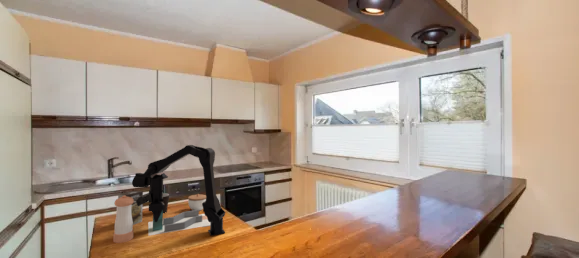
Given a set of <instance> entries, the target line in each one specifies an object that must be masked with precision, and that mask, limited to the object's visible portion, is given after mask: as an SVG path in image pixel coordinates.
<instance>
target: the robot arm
mask: <svg viewBox="0 0 579 258" xmlns="http://www.w3.org/2000/svg"><path fill="white" fill-rule="evenodd" d="M189 155H191V156H193V157H195V158H198V161H199V163H200V165H201V167H202V170H203V178H204V179H203V181H204V191H205V195H206V201H205V202H203V203H202V206H203V209H202V213H203V214H205V216H207V218H208V221H209V222H210V226H209V228H210V229H208V230H207V231H208V233H209V235H210V236H216V235H217V236H218V235H222V234H225V233H226V231H225V230H224V218H223V217H225V216H226V210H224V209H223V208H222V207H221V203H220V199H219V198H218V196H217V191H216V190H217V189H216V183H215V181H216V180H215V172H214V165H215V160H216V153H215V150H214V149H213V148H212V147H207V148H205V147H200V146H196V145H193V144H187V145H185V146H184V147H182V148H181V149H179V150H177V151H175V152H174V153H172V154H170V155H168V156H167V157H164V158H161V159H158V160H155V161H152V162H150V163H148V165H147V169H146V170H145V172H143V173H141V172H136V173H135V176H134V177H133V179H132V181H131V185H132V187H133V188H149V190H148V193H143V195H142V196H139V197H137V198H136V199H135V201H136V204H137V205H138V206H140V205H142V204H143V205H144V204H146V203H148V212H151V213H152V218H153V217H154V222H157V221H158V219H159V217H160V215H161V212H162V210H164V203H163V202H160V201H163V193H164V180H165V179H168V177H169V176H168V175H167V174H165V173H163V172H165V171H166V170H167V169H168V168H170V166H172V164H175V163H176V162H179V161H180V160H182V159H183V158H186V157H188V156H189Z"/></svg>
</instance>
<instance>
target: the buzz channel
mask: <svg viewBox="0 0 579 258" xmlns="http://www.w3.org/2000/svg"><path fill="white" fill-rule="evenodd" d="M199 213H200V211H199V210H194V211H193V210H187V211H183V212H180V213H179V214H176V215H174V216H172V217H171V216H170V217H163V229H161V230H155V231H153V220H152V221H148V223H147V225H148V227H147V228H148V233H147V235H148V236H154V235H160V234H165V233H166V234H167V233H172V232H178V231H184V230H189V229H196V228H207V227H210V222H209V221H208V218H207V216H205V214H204V213H201V214H199Z"/></svg>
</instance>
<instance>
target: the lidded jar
mask: <svg viewBox="0 0 579 258" xmlns="http://www.w3.org/2000/svg"><path fill="white" fill-rule="evenodd" d="M187 198H188V203H187V204H188V206H189V208H190V209H191V211H194V210H199V212H200V211H203V206H202V203H203V202H205V201H206V194H199V193H197V194H192V195H189V196H188V197H187Z"/></svg>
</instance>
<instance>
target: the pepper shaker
mask: <svg viewBox="0 0 579 258" xmlns="http://www.w3.org/2000/svg"><path fill="white" fill-rule="evenodd" d="M133 202H134V200H133V198H132V197H127V196H126V195H124V196H122V197H120V198H118V197H117V199H116V200H114V206H115V207H116V212H115V213H116V215H115V216H116V217H115V221H114V232H113V233H112V234H113V240H112V241H113V243H118V244H121V243H126V242H129V241H132V240H133V239H134V229H133V227H134V225H133V221H132V214H131V209H132V205H131V204H133Z"/></svg>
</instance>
